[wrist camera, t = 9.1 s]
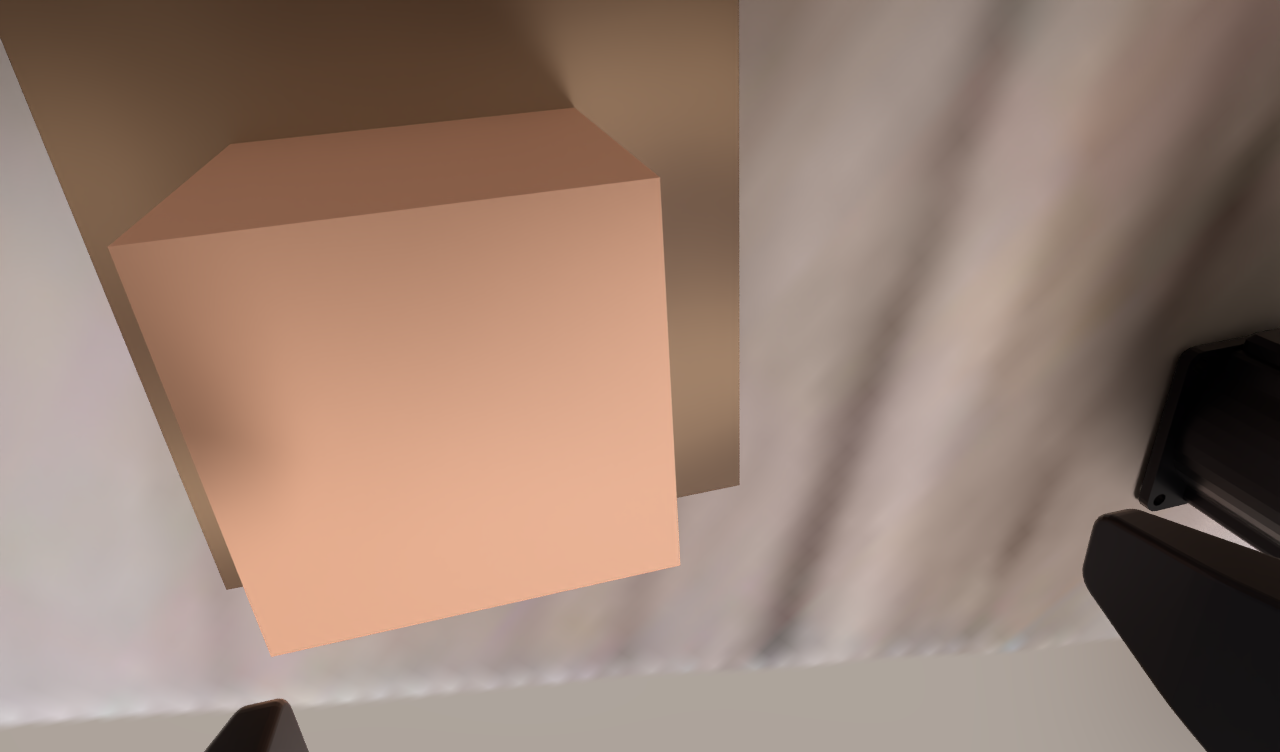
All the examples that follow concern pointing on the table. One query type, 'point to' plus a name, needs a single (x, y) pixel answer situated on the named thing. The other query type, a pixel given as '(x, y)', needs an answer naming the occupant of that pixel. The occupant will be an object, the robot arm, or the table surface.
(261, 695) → the table surface
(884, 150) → the table surface
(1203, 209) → the table surface
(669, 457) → the terracotta cube
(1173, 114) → the table surface
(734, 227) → the walnut block
